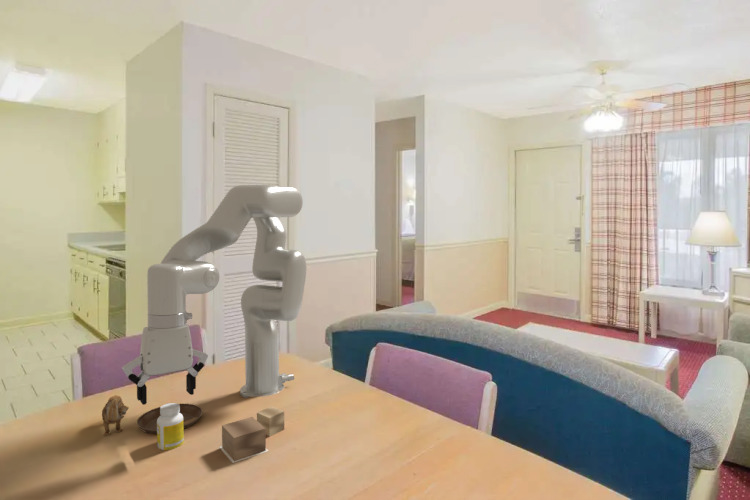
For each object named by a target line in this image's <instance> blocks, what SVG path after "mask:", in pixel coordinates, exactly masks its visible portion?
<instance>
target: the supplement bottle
mask: <svg viewBox="0 0 750 500" xmlns="http://www.w3.org/2000/svg"><path fill="white" fill-rule="evenodd" d="M179 404H180V403H176V402H169V403H165V404H163V405H161V406H159V407H160V415H161V416H160V417H159V418H158V419H157V433H156V439H157V441H156V442H157V443H156V444H157V448H158V449H159V450H163V451H169V450H174V449H177V448H179V447H181V446H183V445H184V443H185V433H184V431H185V429H184V425H185V424H184V422H183V415H182V414H181V413H179V412H180V405H179Z"/></svg>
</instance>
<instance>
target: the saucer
mask: <svg viewBox="0 0 750 500" xmlns="http://www.w3.org/2000/svg"><path fill="white" fill-rule="evenodd" d="M178 404H179V405H180V412H179V413H181V414H182V415H183V423H185V422H188V421H190V422H188V423H186V424H183V425H184V430H185V429H187V428H189V427H191V426H193V425H194V424H195V423H197V422H198V421H199V420H200V418H201V417H202V415H203V409H202V408H201V407H200V406H198V405H196V404H192V403H178ZM160 407H161V406H159V407H155V408H153V409H150V410H148V411H146V412H144V413H142V414H141V415H140V416H139V417H138V419H136V425H137V426H138V427H139V429H140V430H141V431H143V432H144V433H146V434H157V419H158V418H159V417H160V416H161V415H160ZM195 418H196V419H195ZM193 419H194V420H193ZM191 420H192V421H191Z"/></svg>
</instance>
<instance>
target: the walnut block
mask: <svg viewBox="0 0 750 500" xmlns="http://www.w3.org/2000/svg"><path fill="white" fill-rule="evenodd" d="M266 437H267V435H266V428H265V427H263V426H262V425H261V424H260V423H259V422H258V421H257V419H256V418H254V417H253V416H250V417H246V418H244V419H239V420H236V421H232V422H228V423H226V424H222V425H221V446H222V448H223V449H224V450H225V451H226V452H227V453H228V454H229V456H230V457H231V458H232V459H233V460H234V461H236V460H239V459H242V458H245V457H248V456H251V455H254V454H257V453H260V452H263V451H266V449H267V445H266V444H267V443H266V442H267V441H266V440H267V438H266Z"/></svg>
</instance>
